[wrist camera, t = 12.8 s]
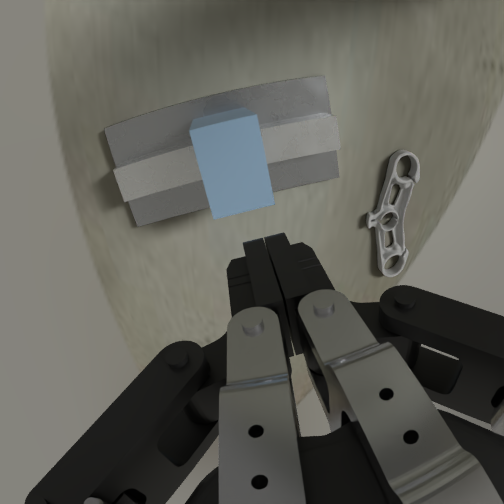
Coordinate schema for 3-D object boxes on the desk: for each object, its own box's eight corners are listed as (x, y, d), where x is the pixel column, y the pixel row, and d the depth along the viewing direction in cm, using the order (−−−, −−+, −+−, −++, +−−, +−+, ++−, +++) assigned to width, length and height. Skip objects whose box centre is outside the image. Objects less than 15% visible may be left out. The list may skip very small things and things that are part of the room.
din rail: (321, 75, 26) (335, 75, 23) (335, 174, 31) (349, 185, 28) (107, 127, 25) (95, 133, 22) (139, 222, 31) (132, 238, 28)
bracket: (444, 166, 30) (400, 279, 37) (435, 161, 32) (393, 271, 39) (395, 146, 29) (350, 274, 35) (385, 142, 30) (344, 265, 37)
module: (244, 107, 26) (256, 114, 20) (259, 176, 29) (274, 204, 23) (192, 119, 26) (189, 130, 20) (211, 188, 29) (213, 219, 23)
